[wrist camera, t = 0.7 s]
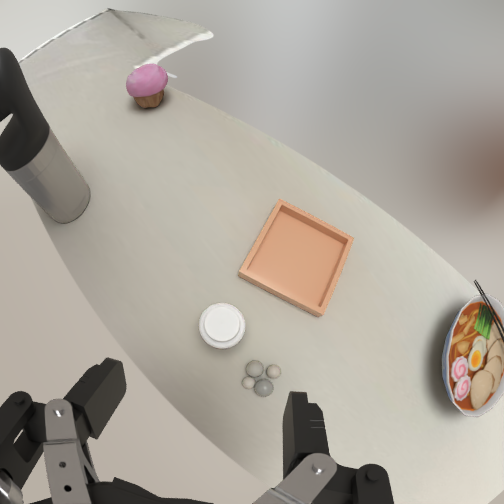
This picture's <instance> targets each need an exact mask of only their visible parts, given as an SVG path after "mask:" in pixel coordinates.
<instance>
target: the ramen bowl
mask: <svg viewBox="0 0 504 504" xmlns="http://www.w3.org/2000/svg"><path fill="white" fill-rule="evenodd" d="M475 281H476V280H475ZM476 282H477V281H476ZM474 283H475V282H474ZM477 284H478V282H477ZM477 284H476V283H475V285H476V286H477ZM478 286H479V284H478ZM478 286H477V288H478ZM479 287H480V286H479ZM480 289H481V287H480ZM478 290H479V288H478ZM481 291H482V293H483V294H482V293H481ZM481 291H480V290H479V292H480V294H481V295H477V296H474V297H473V298H472V299H471V300H470V301H469V302H468V303H467V304H466V305H465V306H464V307H463V308H462V309H461V310H460V311H459V312H458V314H457V316H456V317H455V319H454V322H453V324H452V326H451V328H450V330H449V332H448V334H447V336H446V340H445V345H444V350H443V354H442V377H443V381H444V384H445V387H446V390H447V394H448V396H449V398H450V400H451V402H452V403H453V404H454V405H455V406H456V407H457V408H458V409H459V410H460V411H461V412H462V413H463V414H464V415H465V416H472V417H479V416H481V415H483V414H484V413H486V412H488V411H489V410H491V409H492V408H493V407H494V405H495V404H496V403H497V402H498V400H499V399H500V398H501V396H502V395H503V393H504V307H503V306H502V304H501V303H500V301H499V300H497V299H496V298H494V297H492V296H491V295H489V294H485V293H484V292H483V290H482V289H481Z"/></svg>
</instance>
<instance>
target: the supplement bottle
mask: <svg viewBox="0 0 504 504" xmlns="http://www.w3.org/2000/svg"><path fill="white" fill-rule="evenodd" d="M199 331H200V334H201V336H202V338H203V339H204V341H205V342H206V343H208V344H209V345H210V346H212V347H215V348H218V349H227V348H230V347H233V346H234V345H236V344H237V343H238V342H239V341H240V340H241V339H242V337H243V335H244V333H245V319H244V317H243V315H242V313H241V312H240V310H239V309H237V308H236V307H235V306H233V305H231V304H228V303H216V304H213V305H211V306H209V307H208V308H206V309H205V310H204V312H203V313H202V315H201V317H200V320H199Z"/></svg>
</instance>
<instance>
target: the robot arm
mask: <svg viewBox="0 0 504 504" xmlns="http://www.w3.org/2000/svg"><path fill="white" fill-rule="evenodd" d="M11 113H12V114H13V116H12V118H11V120H10V122H9V123H8V125H7V126H6V128H5V129H4V131H3V132H2V134H1V136H0V165H1V166H2V167H3V168H4V169H5V170H6V172H7V173H8V174H9V175H10V176H11V177H12V178H13V179H14V180H15V181H16V182H17V183H18V184H19V185H20V186H21V187H22V188H23V189H24V190H25V191H26V192H27V194H28V195H29V196H30V197H31V198H32V199H33V200H34V201H35V202H36V203H37V204H38V205H40V206H41V207H42V208H43V209H44V210H45V211H46V212H47V213H48V214H49V215H50V216H51V217H52V218H53V219H54V220H55V221H57V222H59V223H68V222H70V221H73V220H74V219H76V218H77V217H78V216H80V215H81V214H82V212H83V211H84V210H85V208H86V206H87V204H88V202H89V198H90V190H89V187H88V185H87V183H86V182H85V180H84V179H83V178H82V176H81V175H80V173H79V172H78V170H77V169H76V167H75V166H74V164H73V163H72V161H71V160H70V158H69V157H68V155H67V153H66V152H65V150H64V149H63V147H62V146H61V144H60V143H59V141H58V139H57V138H56V136H55V135H54V133H53V131H52V130H51V128H50V126H49V124H48V123H47V121H46V120H45V118H44V116H43V114H42V113H41V111H40V109H39V107H38V105H37V104H36V102H35V100H34V98H33V96H32V94H31V92H30V90H29V87H28V85H27V83H26V80H25V78H24V75H23V73H22V70H21V68H20V66H19V63H18V61H17V59H16V58H15V56H14V54H13V53H12V52H11V51H10V50H9V49H7V48H0V122H1V121H2V120H3V119H5V118H6V117H7V116H8V115H10V114H11ZM125 392H126V381H125V375H124V369H123V364H122V362H121V361H118V360H114V359H111V358H106V359H105V360H104V361H103V362H102V363H101V364H100V365H97V364H96V365H94V366H93V367H91V368H89V369H88V370H87V371H86V372H85V374H84V375H83V376H82V377H81V378H80V379H79V381H78V382H77V383H76V384H75V385H74V386H73V387H72V389H71V390H70V391H69V392H68V393H67V395H66V396H65V397H64V398H63V399H54V400H51V401H50V402H48V403H47V404H43V403H38V402H33V401H32V398H31V396H30V395H29V394H28V393H26V392H23V391H18V392H15V393H13V394H11V395H10V396H9V398H8V399H7V400H6V401H5V402H4V403H3V404H2V406H1V407H0V504H24V502H23V495H22V492H21V489H22V487H23V485H24V484H25V482H26V480H27V479H28V477H29V475H30V473H31V472H32V470H33V468H34V467H35V465H36V463H37V461H38V460H39V458H40V457H41V455H42V453H43V452H44V457H45V464H46V471H47V477H48V482H49V488H50V492H51V498H47V499H44V500H41V501H37V502H34V503H30V504H213V503H207V502H201V501H196V500H192V499H178V498H161V497H158V496H156V495H154V494H152V493H150V492H149V491H147V490H145V489H143V488H141V487H140V486H138V485H135V484H132V483H129V482H127V481H124V480H121V479H118V478H116V477H114V480H113V482H100V481H99V479H98V477H97V475H96V472H95V469H94V465H93V462H92V458H91V455H90V451H89V447H88V443H87V439H88V437H89V436H90V437H92V438H95V439H98V437H99V436H100V434H101V432H102V431H103V429H104V427H105V426H106V424H107V422H108V421H109V419H110V417H111V416H112V414H113V413H114V411H115V409H116V408H117V406H118V405H119V403H120V401H121V400H122V398H123V397H124V395H125ZM21 430H23V432H22V433H21V435H20V436H19V437H18V439H17V440H16V442H15V443H14V440H15V438H16V437H17V435H18V434H19V433H20V431H21ZM252 504H394V501H393V496H392V491H391V486H390V482H389V477H388V473H387V471H386V470H385V469H384V468H383V467H381V466H379V465H376V464H366V465H364V466H362V467H360V468H359V469H354V468H349V467H344V466H341V465H339V464H337V463H336V462H335V460H334V459H333V458H332V457H331V456H330V453H329V448H328V442H327V436H326V430H325V424H324V418H323V412H322V410H321V409H320V407H319V406H318V405H317V403H308V398H307V393H306V392H293V391H290V393H289V396H288V400H287V404H286V408H285V411H284V416H283V481H282V482H281V483H280V484H279V485H277V486H276V487H275V488H271V489H269V490H268V491H267V492H265V493H264V494H263V495H262V496H261V497H260V498H258V499H257V500H256V501H255V502H254V503H252Z"/></svg>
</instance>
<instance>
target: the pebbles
mask: <svg viewBox="0 0 504 504" xmlns="http://www.w3.org/2000/svg"><path fill="white" fill-rule="evenodd" d="M246 370H247V373H248V374H249V375H250V376H252V377H258V376H260V375H261V374H262V373H263V371H264V367H263V365H262V363H261V362H259V361H251V362H250V363H248V365H247V368H246ZM280 374H281V369H280V367H278V366H277V365H271V366H269V367H268V369H267V375H268V376H269V377H270V378H273V379H274V378H277V377H279V376H280ZM252 377H246V378H244V379H243V382H242V384H243V386H244V387H245V388H247V389H251V388H253V387H254V386H255V391H256V393H257V394H258V395H259V396H262V397H266V396H269V395H270V394H271V393H272V392H273V388H274V387H273V384H272V382H271V381H269V380H267V379H261V380H259V381H258V382H257V383H256V385H255V380H254V379H253V378H252Z"/></svg>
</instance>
